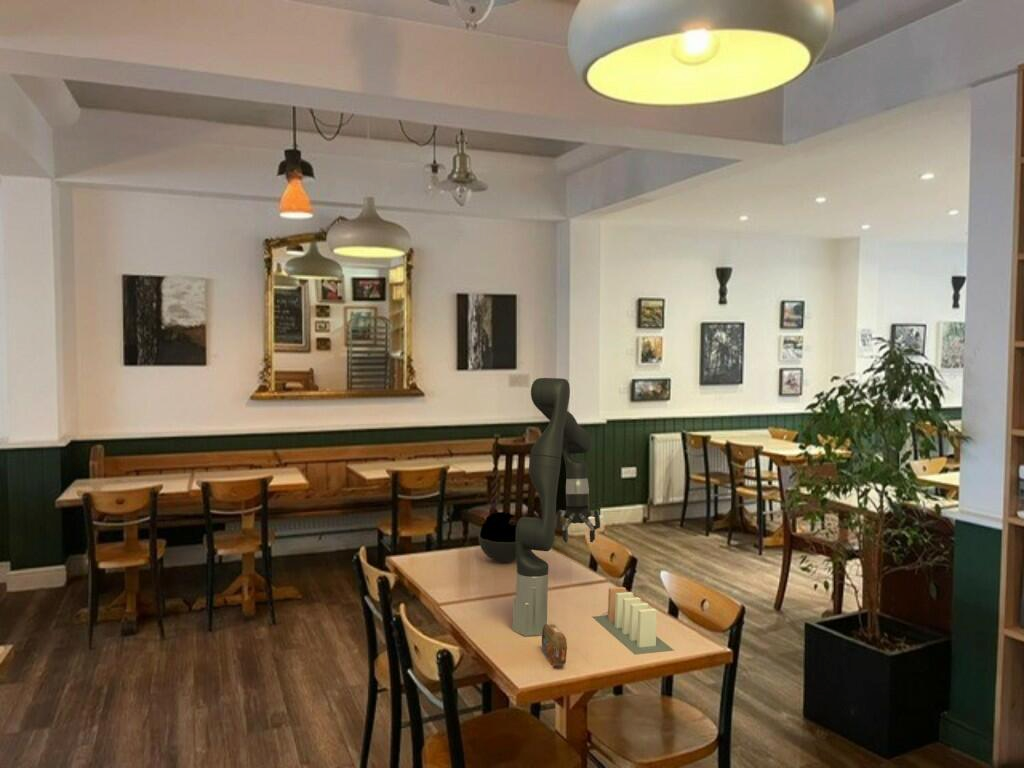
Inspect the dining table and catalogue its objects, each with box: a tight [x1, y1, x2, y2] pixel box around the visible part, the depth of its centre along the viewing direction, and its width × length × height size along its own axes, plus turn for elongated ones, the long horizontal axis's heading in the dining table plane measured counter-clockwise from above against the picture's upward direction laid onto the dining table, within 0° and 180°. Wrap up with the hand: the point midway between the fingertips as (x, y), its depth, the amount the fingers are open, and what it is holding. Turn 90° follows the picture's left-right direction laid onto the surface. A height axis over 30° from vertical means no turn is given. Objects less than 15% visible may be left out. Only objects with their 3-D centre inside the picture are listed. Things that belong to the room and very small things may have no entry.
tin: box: [541, 623, 568, 668], centre depth 202 cm, size 15×3×8 cm, turn 14°
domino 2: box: [615, 591, 634, 628], centre depth 226 cm, size 2×5×10 cm, turn 107°
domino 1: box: [607, 586, 627, 622], centre depth 231 cm, size 2×5×10 cm, turn 107°
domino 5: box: [637, 608, 658, 647], centre depth 212 cm, size 2×5×10 cm, turn 107°
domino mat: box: [592, 614, 675, 655], centre depth 222 cm, size 30×12×1 cm, turn 17°
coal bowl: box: [477, 511, 517, 564], centre depth 294 cm, size 20×20×19 cm
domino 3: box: [622, 596, 642, 634], centre depth 221 cm, size 2×5×10 cm, turn 107°
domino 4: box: [629, 602, 650, 641], centre depth 216 cm, size 2×5×10 cm, turn 107°
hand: (578, 541), depth 251 cm, fingers open, 8 cm apart
